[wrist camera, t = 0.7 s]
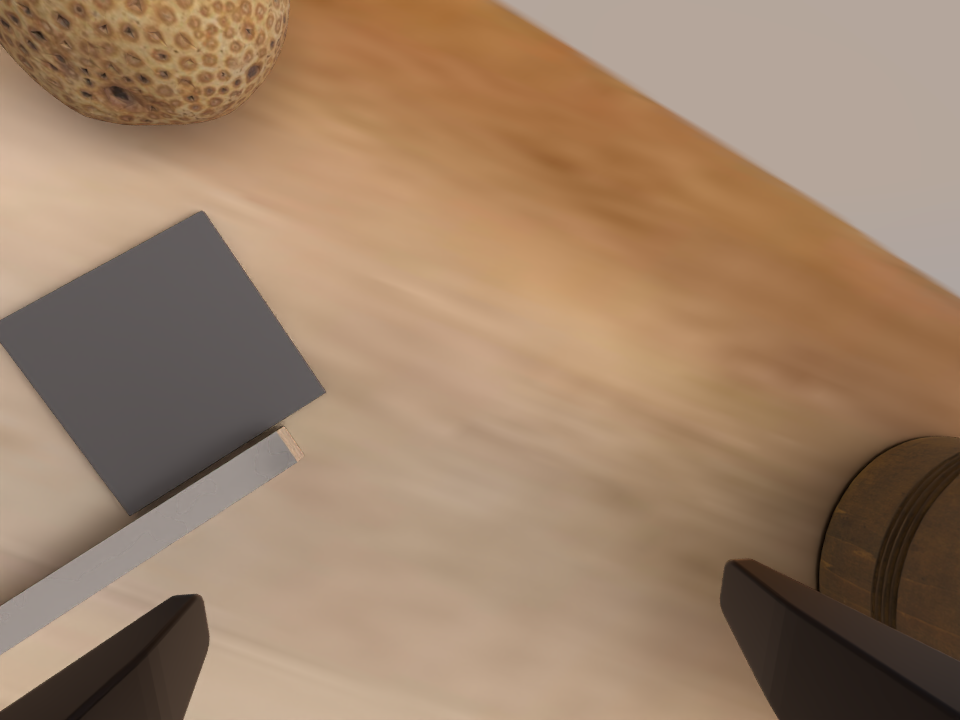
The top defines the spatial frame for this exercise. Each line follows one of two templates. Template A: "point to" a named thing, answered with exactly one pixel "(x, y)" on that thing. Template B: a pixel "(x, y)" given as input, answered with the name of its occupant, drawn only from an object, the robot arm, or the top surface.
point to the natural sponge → (146, 54)
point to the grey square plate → (160, 361)
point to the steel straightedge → (145, 537)
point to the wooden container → (901, 543)
